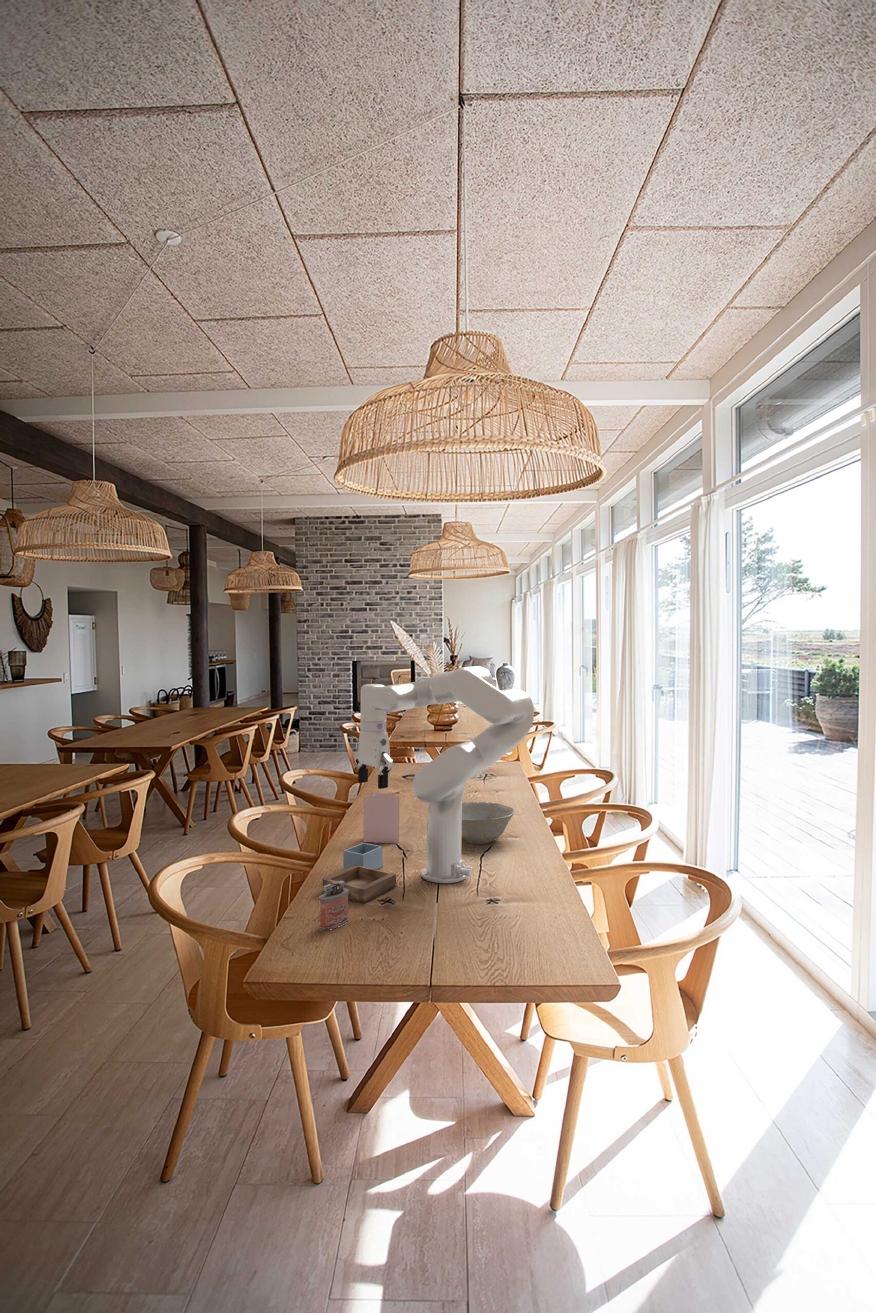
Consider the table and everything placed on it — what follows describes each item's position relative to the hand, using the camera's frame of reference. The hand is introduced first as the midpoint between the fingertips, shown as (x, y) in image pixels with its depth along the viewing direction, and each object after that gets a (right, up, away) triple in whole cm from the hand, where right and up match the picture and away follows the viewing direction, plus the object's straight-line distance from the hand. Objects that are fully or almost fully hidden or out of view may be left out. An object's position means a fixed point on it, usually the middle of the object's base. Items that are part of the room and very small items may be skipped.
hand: (372, 785), depth 208 cm
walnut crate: (-1, -24, -21) cm, 32 cm away
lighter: (-5, -25, -44) cm, 50 cm away
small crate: (-2, -23, -5) cm, 24 cm away
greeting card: (0, -22, +21) cm, 31 cm away
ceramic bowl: (+32, -22, +24) cm, 46 cm away
